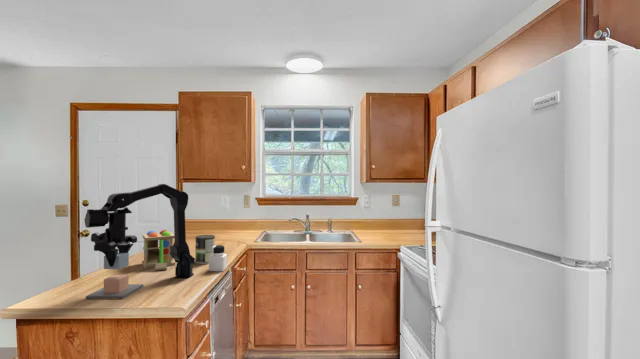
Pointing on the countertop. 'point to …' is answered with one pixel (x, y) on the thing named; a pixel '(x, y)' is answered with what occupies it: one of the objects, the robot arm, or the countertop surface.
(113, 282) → the terracotta brick
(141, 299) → the countertop surface
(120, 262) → the slate-grey brick
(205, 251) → the coffee can
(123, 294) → the base plate
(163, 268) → the pounding bench toy
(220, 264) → the medicine bottle
